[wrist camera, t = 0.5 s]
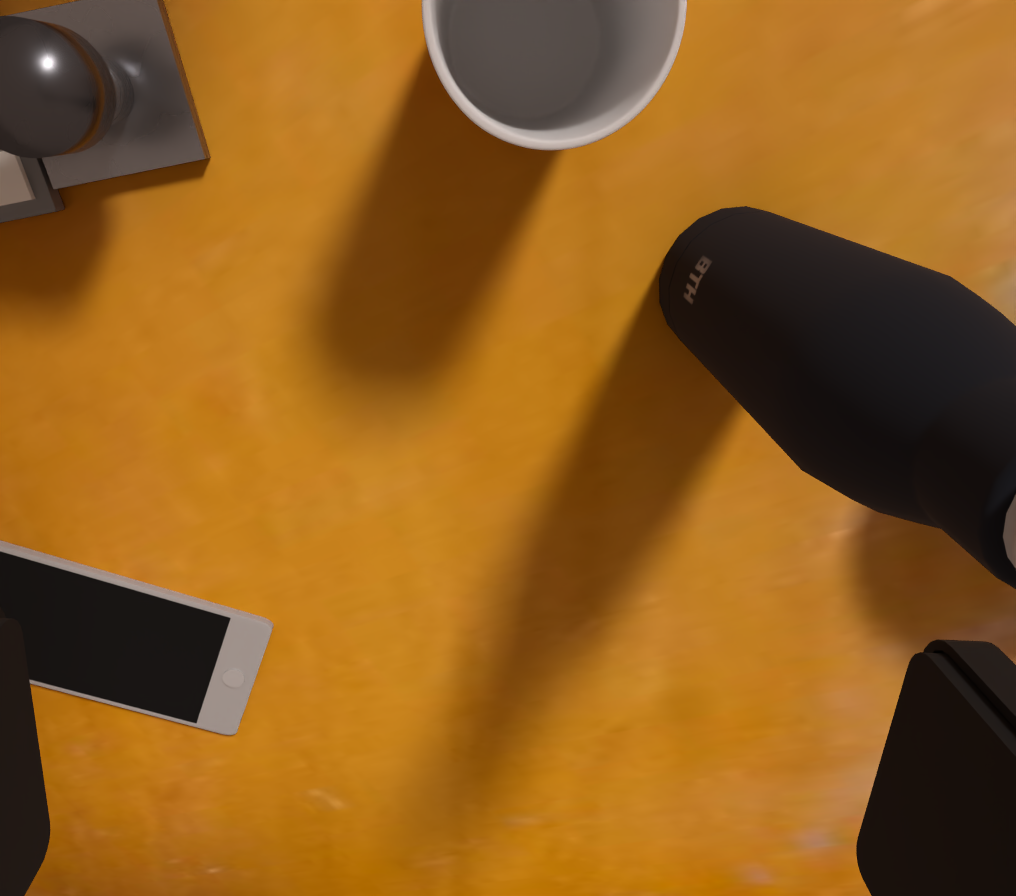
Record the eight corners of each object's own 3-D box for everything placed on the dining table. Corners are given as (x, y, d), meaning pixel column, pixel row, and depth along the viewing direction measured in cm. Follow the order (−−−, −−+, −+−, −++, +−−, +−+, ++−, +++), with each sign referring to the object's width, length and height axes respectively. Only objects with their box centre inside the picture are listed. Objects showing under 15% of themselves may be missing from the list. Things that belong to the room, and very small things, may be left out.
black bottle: (814, 335, 38) (1791, 977, 10) (671, 371, 38) (1242, 1092, 10) (797, 188, 36) (2015, 502, 8) (645, 228, 36) (1296, 668, 8)
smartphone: (238, 726, 45) (234, 739, 44) (-76, 643, 42) (-87, 654, 41) (277, 615, 42) (273, 626, 41) (-53, 518, 39) (-64, 528, 39)
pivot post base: (0, 20, 32) (-69, 8, 28) (159, -12, 32) (114, -29, 27) (62, 187, 34) (6, 199, 30) (210, 157, 34) (176, 165, 30)
